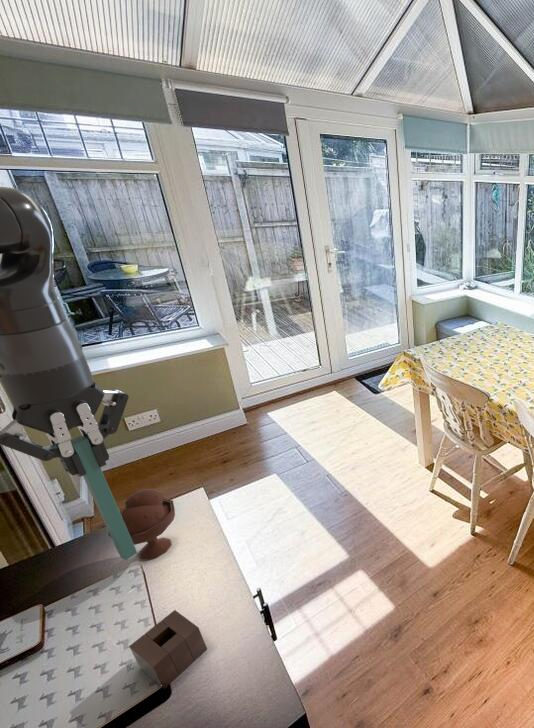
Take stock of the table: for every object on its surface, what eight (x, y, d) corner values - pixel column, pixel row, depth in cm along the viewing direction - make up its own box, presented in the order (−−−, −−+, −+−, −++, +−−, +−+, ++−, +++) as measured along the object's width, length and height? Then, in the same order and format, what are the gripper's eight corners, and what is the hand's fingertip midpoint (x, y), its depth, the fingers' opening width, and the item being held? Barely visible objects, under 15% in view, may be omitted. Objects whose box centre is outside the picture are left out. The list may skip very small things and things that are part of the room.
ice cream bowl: (133, 538, 93) (109, 486, 87) (192, 523, 97) (174, 473, 91) (113, 578, 84) (86, 523, 78) (180, 560, 88) (158, 507, 82)
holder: (164, 689, 67) (152, 666, 64) (140, 668, 69) (128, 646, 67) (207, 649, 72) (198, 627, 70) (184, 631, 75) (174, 609, 72)
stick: (125, 560, 64) (72, 444, 55) (120, 556, 65) (66, 441, 56) (137, 553, 65) (87, 438, 56) (132, 549, 66) (82, 435, 57)
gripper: (95, 335, 58) (133, 436, 65) (-58, 372, 47) (8, 490, 54) (123, 346, 55) (160, 450, 62) (-32, 389, 44) (35, 511, 51)
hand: (90, 468), depth 58 cm, fingers closed on stick, 1 cm apart
